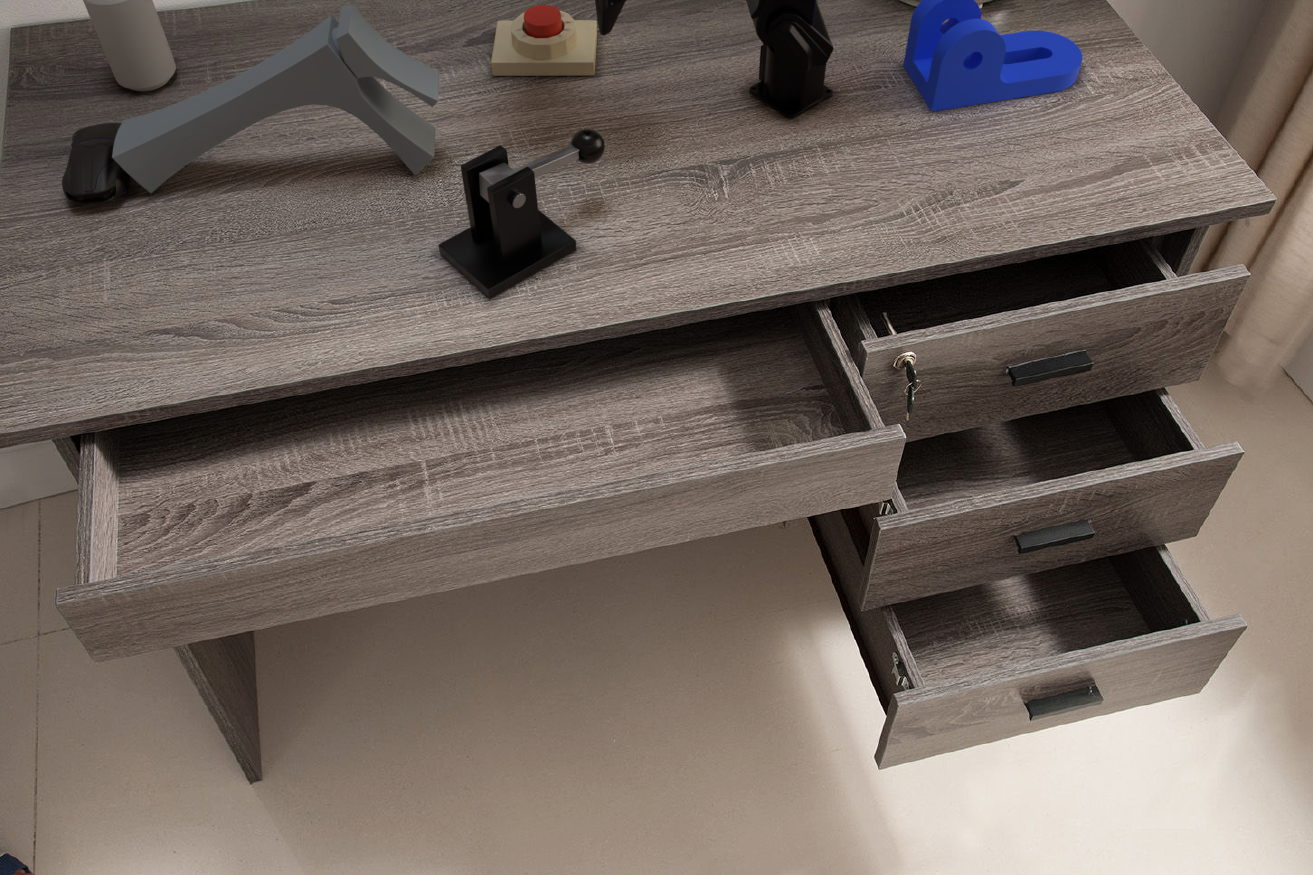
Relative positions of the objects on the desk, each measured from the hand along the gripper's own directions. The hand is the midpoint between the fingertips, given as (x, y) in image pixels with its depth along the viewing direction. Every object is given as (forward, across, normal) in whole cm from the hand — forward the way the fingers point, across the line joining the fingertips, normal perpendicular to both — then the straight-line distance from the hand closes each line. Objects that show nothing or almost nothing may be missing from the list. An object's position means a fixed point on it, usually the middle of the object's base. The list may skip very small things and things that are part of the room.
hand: (574, 13), depth 120 cm
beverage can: (+12, -36, -30) cm, 49 cm away
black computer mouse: (+12, -24, -42) cm, 50 cm away
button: (+8, -10, +4) cm, 14 cm away
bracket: (+11, +26, +37) cm, 46 cm away
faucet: (+12, -12, -27) cm, 32 cm away
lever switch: (+11, +12, -19) cm, 25 cm away
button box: (+11, -10, +4) cm, 16 cm away
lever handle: (+5, +12, -14) cm, 19 cm away
